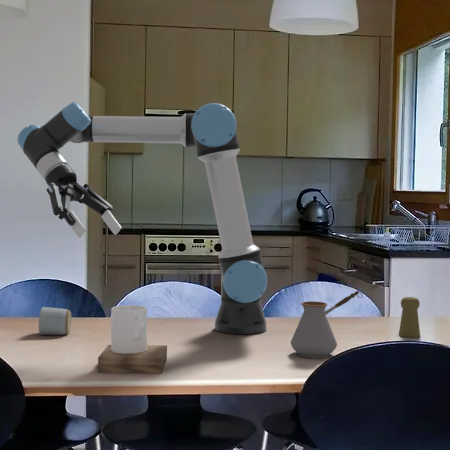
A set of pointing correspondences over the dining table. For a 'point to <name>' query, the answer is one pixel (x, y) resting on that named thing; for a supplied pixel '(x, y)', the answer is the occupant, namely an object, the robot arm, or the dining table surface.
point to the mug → (128, 329)
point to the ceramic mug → (54, 321)
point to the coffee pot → (316, 330)
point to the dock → (133, 361)
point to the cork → (409, 318)
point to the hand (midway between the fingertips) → (101, 232)
